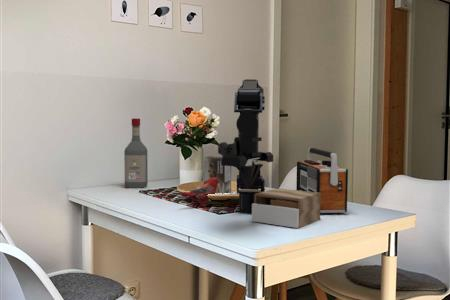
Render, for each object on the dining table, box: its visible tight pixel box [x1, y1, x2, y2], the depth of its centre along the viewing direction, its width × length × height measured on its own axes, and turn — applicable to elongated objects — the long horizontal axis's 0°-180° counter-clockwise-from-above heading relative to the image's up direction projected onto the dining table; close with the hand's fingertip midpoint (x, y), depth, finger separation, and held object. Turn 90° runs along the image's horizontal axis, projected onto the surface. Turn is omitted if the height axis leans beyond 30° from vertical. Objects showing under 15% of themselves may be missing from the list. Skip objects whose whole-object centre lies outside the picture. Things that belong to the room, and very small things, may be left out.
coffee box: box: [202, 155, 232, 194], centre depth 183 cm, size 9×6×16 cm
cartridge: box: [270, 198, 298, 209], centre depth 148 cm, size 9×4×5 cm, turn 55°
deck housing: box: [254, 187, 321, 229], centre depth 148 cm, size 14×15×8 cm
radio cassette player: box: [295, 147, 349, 215], centre depth 169 cm, size 29×10×20 cm, turn 6°
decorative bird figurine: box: [177, 177, 219, 207], centre depth 168 cm, size 3×18×10 cm, turn 129°
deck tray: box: [251, 203, 299, 229], centre depth 147 cm, size 14×15×5 cm
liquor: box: [123, 118, 149, 189], centre depth 213 cm, size 9×9×30 cm
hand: (247, 189), depth 137 cm, fingers closed
